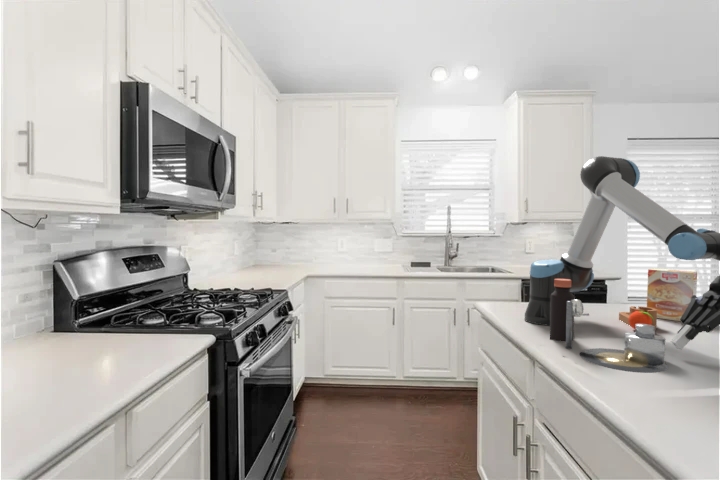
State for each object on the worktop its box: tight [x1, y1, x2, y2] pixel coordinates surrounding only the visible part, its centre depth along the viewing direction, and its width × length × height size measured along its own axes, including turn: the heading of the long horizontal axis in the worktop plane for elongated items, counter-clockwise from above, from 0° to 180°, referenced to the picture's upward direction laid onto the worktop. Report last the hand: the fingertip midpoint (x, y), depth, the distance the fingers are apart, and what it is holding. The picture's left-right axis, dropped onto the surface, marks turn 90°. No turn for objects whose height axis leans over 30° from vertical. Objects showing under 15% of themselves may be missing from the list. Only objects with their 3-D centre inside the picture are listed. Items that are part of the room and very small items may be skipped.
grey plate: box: [579, 347, 669, 374], centre depth 112 cm, size 20×20×1 cm
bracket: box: [618, 305, 658, 330], centre depth 158 cm, size 18×8×7 cm, turn 168°
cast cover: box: [623, 324, 666, 364], centre depth 113 cm, size 9×9×9 cm
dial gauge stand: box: [565, 298, 590, 350], centre depth 122 cm, size 5×8×16 cm, turn 96°
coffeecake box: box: [646, 267, 698, 322], centre depth 167 cm, size 15×7×20 cm, turn 43°
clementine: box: [629, 311, 654, 330], centre depth 147 cm, size 8×7×7 cm
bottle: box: [549, 279, 575, 343], centre depth 132 cm, size 7×7×20 cm
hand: (675, 345), depth 114 cm, fingers closed
